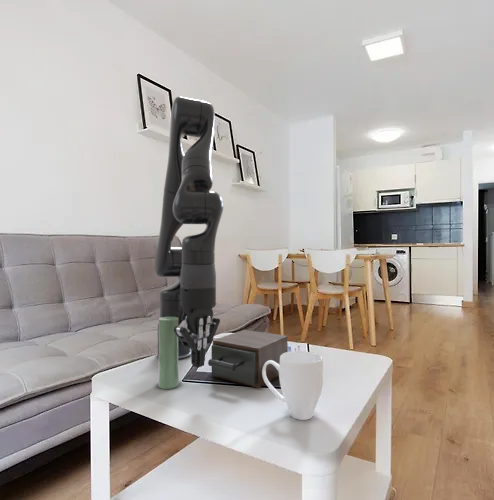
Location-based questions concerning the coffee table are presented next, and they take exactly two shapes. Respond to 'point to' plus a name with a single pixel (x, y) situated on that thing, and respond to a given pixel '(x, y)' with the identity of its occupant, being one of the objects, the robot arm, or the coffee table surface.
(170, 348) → the green cylinder
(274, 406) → the coffee table surface
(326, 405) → the coffee table surface
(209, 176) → the robot arm
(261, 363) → the cabinet
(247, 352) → the drawer
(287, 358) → the mug
